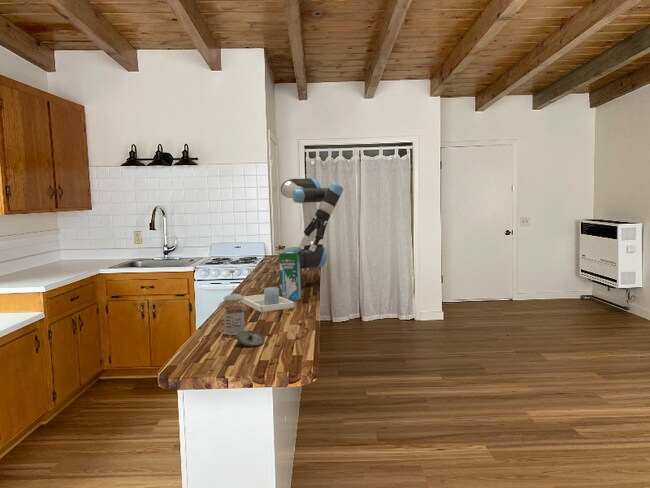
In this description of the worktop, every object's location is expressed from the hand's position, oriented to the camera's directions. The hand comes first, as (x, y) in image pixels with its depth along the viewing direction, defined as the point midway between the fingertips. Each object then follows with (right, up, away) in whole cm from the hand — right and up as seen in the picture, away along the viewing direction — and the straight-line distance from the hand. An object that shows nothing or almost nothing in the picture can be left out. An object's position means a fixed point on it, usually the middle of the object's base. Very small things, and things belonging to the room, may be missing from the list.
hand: (306, 248), depth 269 cm
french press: (-27, -33, -59) cm, 73 cm away
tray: (-19, -28, -13) cm, 36 cm away
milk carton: (-8, -27, +1) cm, 28 cm away
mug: (-15, -28, -20) cm, 37 cm away
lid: (-18, -34, -77) cm, 86 cm away
